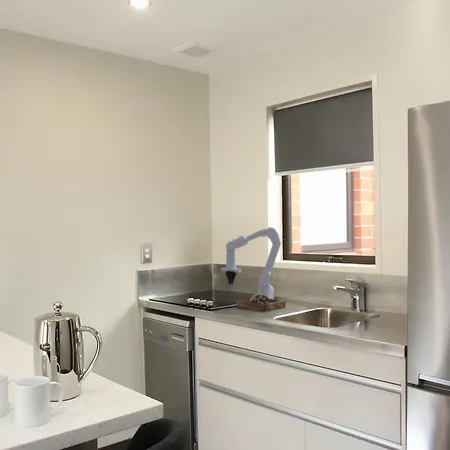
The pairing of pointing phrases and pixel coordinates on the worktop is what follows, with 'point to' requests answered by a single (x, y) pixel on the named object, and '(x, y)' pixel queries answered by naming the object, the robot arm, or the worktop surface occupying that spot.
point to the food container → (259, 298)
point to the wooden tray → (262, 305)
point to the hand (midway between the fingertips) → (231, 283)
